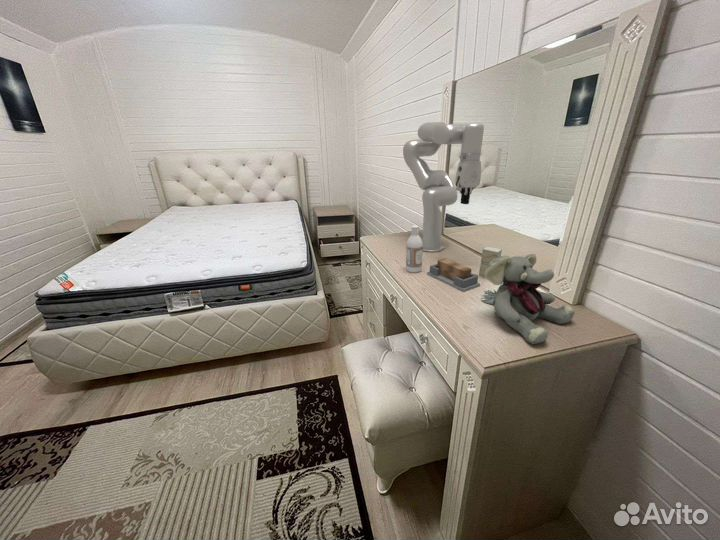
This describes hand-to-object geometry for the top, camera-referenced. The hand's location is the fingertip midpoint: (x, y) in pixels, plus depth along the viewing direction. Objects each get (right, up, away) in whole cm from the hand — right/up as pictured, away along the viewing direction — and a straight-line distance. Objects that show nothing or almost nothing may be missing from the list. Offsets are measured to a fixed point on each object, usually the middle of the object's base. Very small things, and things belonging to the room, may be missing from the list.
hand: (464, 203), depth 125 cm
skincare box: (+8, -31, -4) cm, 33 cm away
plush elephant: (+6, -43, -31) cm, 54 cm away
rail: (-7, -32, -5) cm, 34 cm away
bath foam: (-21, -29, +6) cm, 36 cm away
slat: (-7, -32, -6) cm, 33 cm away
